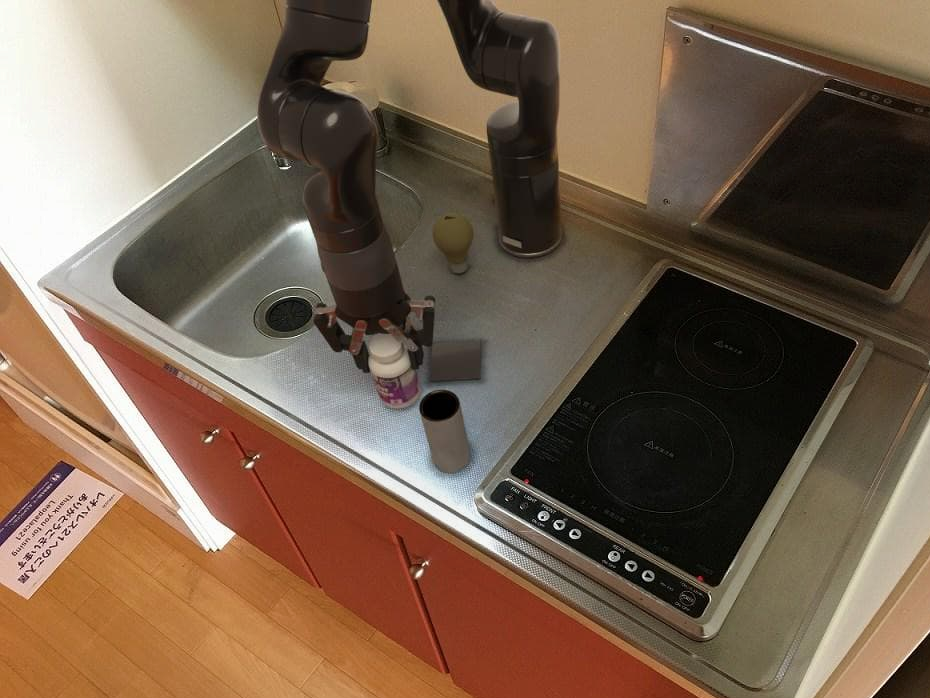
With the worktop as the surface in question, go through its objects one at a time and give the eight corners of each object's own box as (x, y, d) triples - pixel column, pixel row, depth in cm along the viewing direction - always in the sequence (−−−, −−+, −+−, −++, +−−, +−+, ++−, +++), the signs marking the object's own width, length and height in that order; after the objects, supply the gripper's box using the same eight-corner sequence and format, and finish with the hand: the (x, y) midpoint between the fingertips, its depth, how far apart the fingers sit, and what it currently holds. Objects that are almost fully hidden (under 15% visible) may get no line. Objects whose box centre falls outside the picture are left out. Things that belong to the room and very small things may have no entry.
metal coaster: (432, 345, 110) (432, 343, 109) (480, 342, 109) (480, 340, 109) (430, 382, 105) (429, 380, 105) (480, 379, 105) (480, 377, 105)
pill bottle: (371, 402, 103) (353, 352, 95) (394, 371, 106) (378, 320, 98) (407, 416, 101) (391, 366, 93) (429, 385, 104) (416, 334, 96)
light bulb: (445, 288, 116) (434, 234, 108) (436, 263, 120) (425, 209, 112) (483, 279, 117) (475, 224, 109) (473, 254, 120) (465, 199, 113)
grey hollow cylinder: (450, 435, 100) (438, 382, 92) (478, 454, 98) (468, 401, 90) (425, 461, 98) (410, 408, 90) (453, 480, 96) (440, 428, 88)
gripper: (429, 234, 88) (452, 339, 101) (298, 243, 89) (337, 346, 102) (425, 283, 83) (449, 387, 96) (286, 293, 84) (329, 394, 97)
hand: (391, 365), depth 99 cm, fingers closed on pill bottle, 5 cm apart
